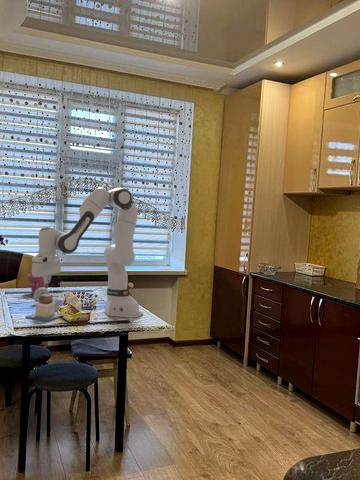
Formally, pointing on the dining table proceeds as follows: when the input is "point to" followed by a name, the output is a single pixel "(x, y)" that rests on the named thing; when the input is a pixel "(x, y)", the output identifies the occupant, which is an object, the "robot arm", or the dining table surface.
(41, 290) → the donut
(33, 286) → the plant pot
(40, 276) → the robot arm
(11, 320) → the dining table surface
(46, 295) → the walnut block
